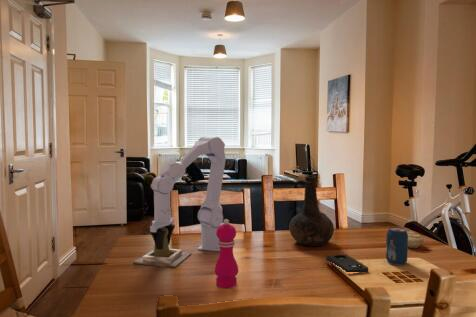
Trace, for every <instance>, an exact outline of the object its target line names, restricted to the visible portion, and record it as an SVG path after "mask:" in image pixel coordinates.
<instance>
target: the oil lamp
mask: <svg viewBox="0 0 476 317" xmlns="http://www.w3.org/2000/svg"><path fill="white" fill-rule="evenodd" d="M406 232H407V234H408V248H409V249H417V248H419V247H420V246H422V245H424V242H425V240H424V238H423V236H421V235H420V234H417V233H416V232H415V231H411V230H406Z"/></svg>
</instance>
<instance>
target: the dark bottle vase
mask: <svg viewBox="0 0 476 317" xmlns="http://www.w3.org/2000/svg"><path fill="white" fill-rule="evenodd" d="M302 182H303V183H304V200H303V206H302V210H301V212H300V213H298V214H296V215H294V216H293V217H292V218H291V220H290V221H289V226H288V227H289V228H288V229H289V233H290V236H291V237H292V238H293V239H294V240H295V242H297V243H298V244H300V245H303V246H307V247H319V246H323V245H325V244H327V243H328V242H330V240H331V239H332V237H333V235H334V231H335V227H334V223H333V222H332V220H331V219H330V217H328V216H327V215H326V214H325V213H323V212H321V211H320V208H319V204H318V195H317V182H318V180H317V176H316V175H305V177H304V179H303V181H302Z"/></svg>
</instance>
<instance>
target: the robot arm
mask: <svg viewBox="0 0 476 317" xmlns="http://www.w3.org/2000/svg"><path fill="white" fill-rule="evenodd" d="M225 146H226V144H225V142H224V141H223V140H222V138H221V137H219V136H209V137H208V136H202V137H199V139H198V140H197V141H195V142H194V145H193V146H192V147H191V148H190V149H189V150H188V152H187V153H186V154H184V155H183V156H182V158H181V159H180V160H179V161H173V162H170V164H168V165H169V166H168V167H167V168H166V169H165V170H164V171H162V172H161V173H160V175H159V176H156V177H154V178H153V179H152V182H151V184H150V188H151V189H152V191H153V205H154V206H153V208H154V212H153V214H154V220H152V221H151V225H150V226H149V233H150V235H151V237H152V239H153V241H154V246H155V245H156V249H163V241H164V236H165V233H166V231H163V230H161V228H163V227H166V228H167V229H168V235H167V240H168V246H169V245H170V244H171V239H172V235H173V233H174V232H173V231H174V230H175V228H176V225H175V224H174V223H175V217H172V216H171V192H172V191H173V190H174V185H175V184H176V182H177V181H179V180H180V179H181V178H182V176H183V175H185V173H186V169H187V168H188V167H189V166H190V165H191V164H192V163H193V162H195V160H197V159H198V158H199V157H200V156H203V155H205V156H207V158H208V159H209V160H210V163H211V164H210V169H209V174H208V182H207V187H206V189H207V190H206V194H205V200H204V201H203V202H202V203H201V204H200V209H199V210H198V212H197V219H198V221H199V222H200V230H201V232H200V233H201V234H200V236H201V237H200V240H201V242H200V243H201V244H200V246H199V247H197V250H201V251H212V252H220V246H219V245H218V240H219V238H218V237H217V235H216V231H217V228H218V227H219V226H220V225H222V223H223V221H224V214H223V207H222V205H221V204H220V198H221V191H222V187H223V179H224V173H225V172H224V171H225V166H226V159H227V157H226V153H225Z"/></svg>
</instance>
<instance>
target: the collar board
mask: <svg viewBox="0 0 476 317" xmlns="http://www.w3.org/2000/svg"><path fill="white" fill-rule="evenodd" d="M169 252H170V257H168V258H167V257H157V256H153V255H154V249H152V250H150V251H148V252H147V253H145V254H143V255H142V256H141V257H139V258H137V259H135V260H134V261H133V264H134V265H135V264H137V265H145V266H152V267H164V268H174V269H176V268H177V267H178V266H179V265H180V264H181V263H183V262H184V261H185V260H186V259H188V258H189V257H190V256H191V255H192V253H191V252H183V249H177V248H169Z"/></svg>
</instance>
